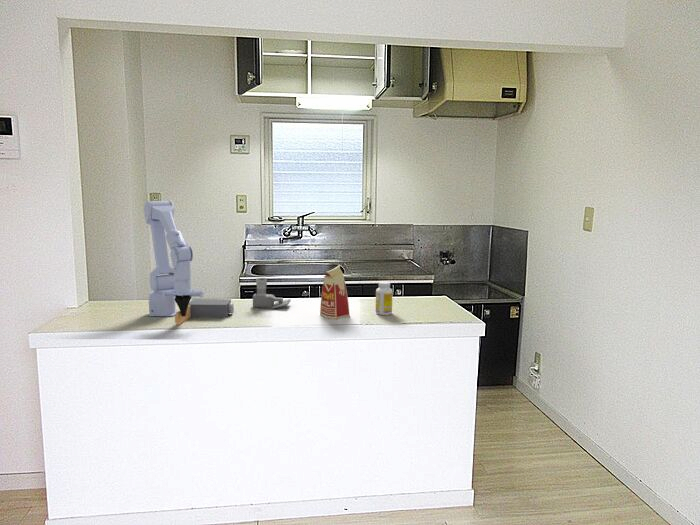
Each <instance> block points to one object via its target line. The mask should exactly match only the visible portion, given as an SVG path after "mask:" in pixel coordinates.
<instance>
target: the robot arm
mask: <svg viewBox="0 0 700 525" xmlns="http://www.w3.org/2000/svg"><path fill="white" fill-rule="evenodd" d="M143 213H144V219H145V223H146V224H147V225H149V226H150V231H151V237H152V244H153V251H154V252H153V253H154V258H155V260H154V261H155V268H154V269H153V270H152V271H151V272H150V273H149V286H150V289H151V291H150V292H149V295H148V312H149V313H148V317H175V314H176V312H178V311H179V310H180V312H181V316H186V312H187V307H188V304H189V302H190V301H191V300H192V298H193V297H194V298H195V297H196V298H197V297H198V298H203V297H204V296H205V291H204V290H198V289H196V290H195V289H192V278H191V277H192V275H191V273H192V272H191V262H192V261H193V258H194V254H193V249H192V247H191V245H189V243H186V241H185V239H184V236H183V234H182V232H181V230H179V229H178V230H177V226H176V223H175V219H174V215H175V204H174V202H173V201H172V200H161V201H160V200H158V201H156V200H153V201H151V200H146V202H145V203H144V207H143ZM168 247H169V249H170V255H169V254H168V253H169V252H168ZM169 256H170V260H169ZM170 261H171V265H172V266H171V265H170ZM176 304H177V307H178V309H176Z"/></svg>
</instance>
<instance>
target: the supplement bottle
mask: <svg viewBox="0 0 700 525" xmlns="http://www.w3.org/2000/svg"><path fill="white" fill-rule="evenodd" d="M377 285H378V288H376V290H375V313H376V314H377V315H379V316H388V315H391V314H393V289H392V288H391V282H390V281H387V280H386V281H385V280H383V281H382V280H381V281H379V282H378V284H377Z"/></svg>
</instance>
